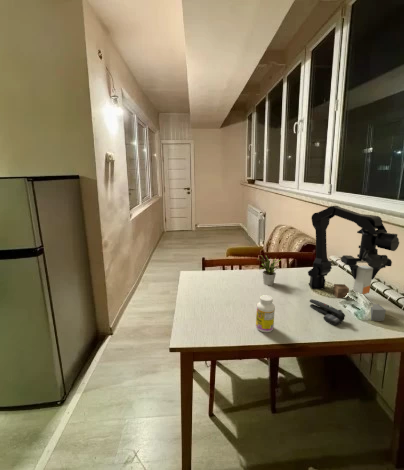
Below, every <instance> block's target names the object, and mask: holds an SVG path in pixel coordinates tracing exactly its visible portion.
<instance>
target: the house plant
mask: <svg viewBox="0 0 404 470" xmlns="http://www.w3.org/2000/svg"><path fill="white" fill-rule="evenodd" d="M261 258H262V259H259V258H256V259H257V260H259V261H261V264H260V265H261V266H263V267H261V266H260V268H259V269H258V270H263V271H262V279H263V280H262V281H263V284H264V285H265V286H273V285H274V282H275V280H276V279H275V278H276V275H277V273H276V272H275V271H276V270H277V269H278V270H279V267H277V266H276V264H278V263H279V262H280V261H282V260H283V258H282V259H279V260H277V261H276V258H277V257H275V258H274V260H273V261H272V259H270V258H269V257H268V255H265V258H266V260H265V258H264V256H263V255H261ZM271 261H272V263H271Z"/></svg>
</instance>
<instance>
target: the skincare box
mask: <svg viewBox="0 0 404 470" xmlns="http://www.w3.org/2000/svg"><path fill="white" fill-rule="evenodd" d="M372 274H373V268H372V267H370V266H369V265H360V266H359V267H358V268H357V274H356V279H354V280H353V286H352V292H353V291H355V292H359V293H361V294H363V295H362V296H364V295H367V294H370V291H371V285H372Z"/></svg>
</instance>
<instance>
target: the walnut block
mask: <svg viewBox="0 0 404 470" xmlns="http://www.w3.org/2000/svg"><path fill="white" fill-rule="evenodd" d="M332 291H333V292H332V293H333V295H334V296H335V297H336V298H338V299H344V298H343V297H345V296H346V295H347V293H348V292H349V291H350V288H349V287H348V286H347V285H346V284H345V283H344V284H341V283H339V284H338V283H337V284H336V283H334V284H333V288H332ZM349 293H350V292H349Z"/></svg>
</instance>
